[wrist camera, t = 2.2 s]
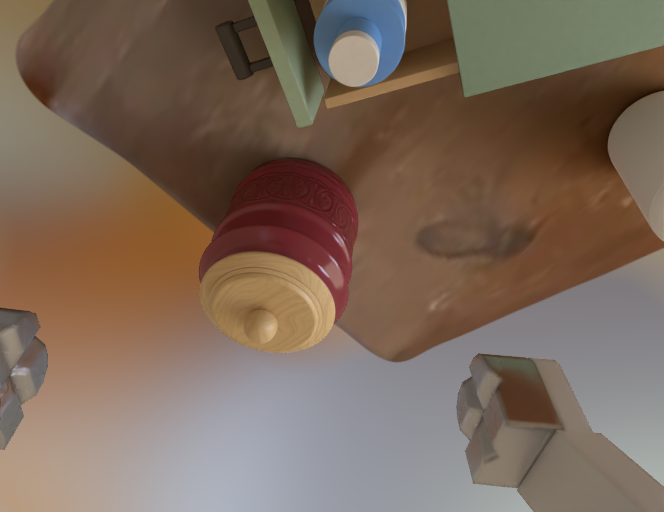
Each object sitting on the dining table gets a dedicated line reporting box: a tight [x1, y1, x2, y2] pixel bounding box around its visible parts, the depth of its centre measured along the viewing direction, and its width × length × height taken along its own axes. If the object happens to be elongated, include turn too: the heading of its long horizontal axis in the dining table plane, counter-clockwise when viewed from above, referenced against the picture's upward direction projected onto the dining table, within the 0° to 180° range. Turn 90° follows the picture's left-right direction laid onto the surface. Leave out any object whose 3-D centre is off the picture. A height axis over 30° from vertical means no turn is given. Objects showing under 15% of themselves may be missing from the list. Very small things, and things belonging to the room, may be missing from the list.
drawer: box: [215, 0, 459, 128], centre depth 36 cm, size 18×12×7 cm
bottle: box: [314, 0, 407, 87], centre depth 32 cm, size 5×5×14 cm
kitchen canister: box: [199, 159, 358, 353], centre depth 46 cm, size 13×13×18 cm
